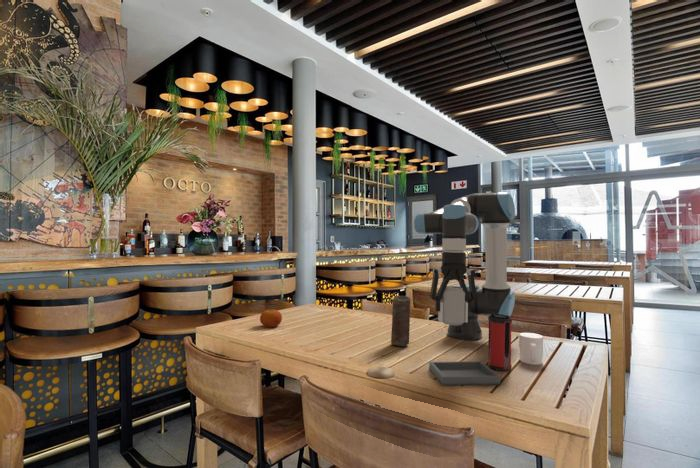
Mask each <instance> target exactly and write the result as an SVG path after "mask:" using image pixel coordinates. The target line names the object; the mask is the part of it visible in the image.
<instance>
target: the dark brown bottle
mask: <svg viewBox="0 0 700 468" xmlns="http://www.w3.org/2000/svg"><path fill="white" fill-rule="evenodd" d="M391 314H392V318H391V319H392V320H391V337H390V344H391V345H393V346H396V347H405V346H407V345H409V344H410V326H411V325H410V322H411V320H410V319H411V298H410V296H407V295H397V296H394V297H393V298H392V313H391Z"/></svg>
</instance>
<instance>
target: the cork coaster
mask: <svg viewBox="0 0 700 468" xmlns="http://www.w3.org/2000/svg"><path fill="white" fill-rule="evenodd" d="M395 373H396V371H395V370H394V369H393V368H391V367H386V366H374V367H373V366H372V367H370V368H368V369H367V371H366V374H367V375H368V376H369V377H373V378H376V379H390V378H393V377H394V376H395Z"/></svg>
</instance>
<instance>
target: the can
mask: <svg viewBox="0 0 700 468" xmlns="http://www.w3.org/2000/svg"><path fill="white" fill-rule="evenodd" d="M457 286H458V285H456V286H455V285H447V287H446V289H445V291H444V294H443V296H442V299H441V301H442V302H443V322H442V323H443V324H444V325H448V326H449V325H462V324H463V323H464V322H465V292H464V291H463V288H462V287H457Z"/></svg>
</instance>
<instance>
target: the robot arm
mask: <svg viewBox="0 0 700 468" xmlns="http://www.w3.org/2000/svg"><path fill="white" fill-rule="evenodd" d="M515 207H516V206H515V202H514V198H513V197H512V195H511V193H509V192H507V191H505V192H503V191H498V192H497V191H496V192H495V191H494V192H482V193H479V192H477V193H472V194H471V193H470V194H467V195H464V196H461V197H459V198H455V199H454V200H453V201H451V203H450V204H446V205H443V207H441V208H438V209H436V210H434V211H432V212H429V213H428V212H427V213H425V212H423V213H418V214H416V215H415V216H414V220H413V228H414V231H415V233H417V234H424V235H428V234H429V235H430V234H431V235H433V234H434V235H438V234H439V235H440V234H441V235H442V237H441V238H442V242H441V243H442V244H441V245H442V248H441V249H442V251H443V252H442V253H441V267H439V268H433V269H431V270H432V271H431V272H432V282H431V289H430V292H429V293H430V294H429V298H430V299H432V300H433V301H435V307H434V308H435V311H436V312H437V320H438V322H440V323H443V302H442V301H441V299H442V296H443V294H444V291H445V289H446V287H447V286H448V284H449V283H450V281H454V280H456V281H457V282H458V284H459V285H456V286H457V287H462V288H463V291H464V292H465V322H464V323H463V324H462V325H448V327H447V336H449V337H451V338H454V339H458V340H467V341H468V340H469V341H471V340H472V341H473V340H481V339H482V337H483V330H482V328H481V325H480V322H479V315H480V316H487V317H489V316H490V315H492V314H502V315H507V316H509V317H511V316H512V314H513V311H514V307H515V301H516V293H515V291H513V290H511V285H510V284H509V283H508V282H507V281H508V279H507V278H508V277H507V276H508V275H507V274H508V273H507V270H508V269H507V267H508V266H507V264H508V263H507V262H508V261H507V256H508V255H507V253H508V251H507V250H508V248H507V247H508V243H507V242H508V241H507V239H508V238H507V237H508V236H507V232H508V230H507V229H508V226H509V225H510V224H511V221H512V220H513V219H515V215H516V208H515ZM479 220H481V225H482V226H483V227H484V229H485V232H484V233H485V234H484V235H485V241H484V242H485V282H484V283H483V284H482V285H481V288H480V286H479V284H476V283H475V282H476V281H475V275H476V270H475V269H469V268H468V267H467V266H466V262H467V260H466V259H467V258H466V257H467V256H466V255H467V253H466V250H467V236H469V235H472V234H474V233H475V232H476V231H477V230H478V229H479V226H480V225H479V224H480V223H479ZM441 273H442V275H443V278H442V282H441V284H440V287H439V288H438V285H439V278H440V275H441ZM465 274H466V275H467V281H468V284H466V282H465V281H466V280H465V278H464V275H465Z"/></svg>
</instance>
